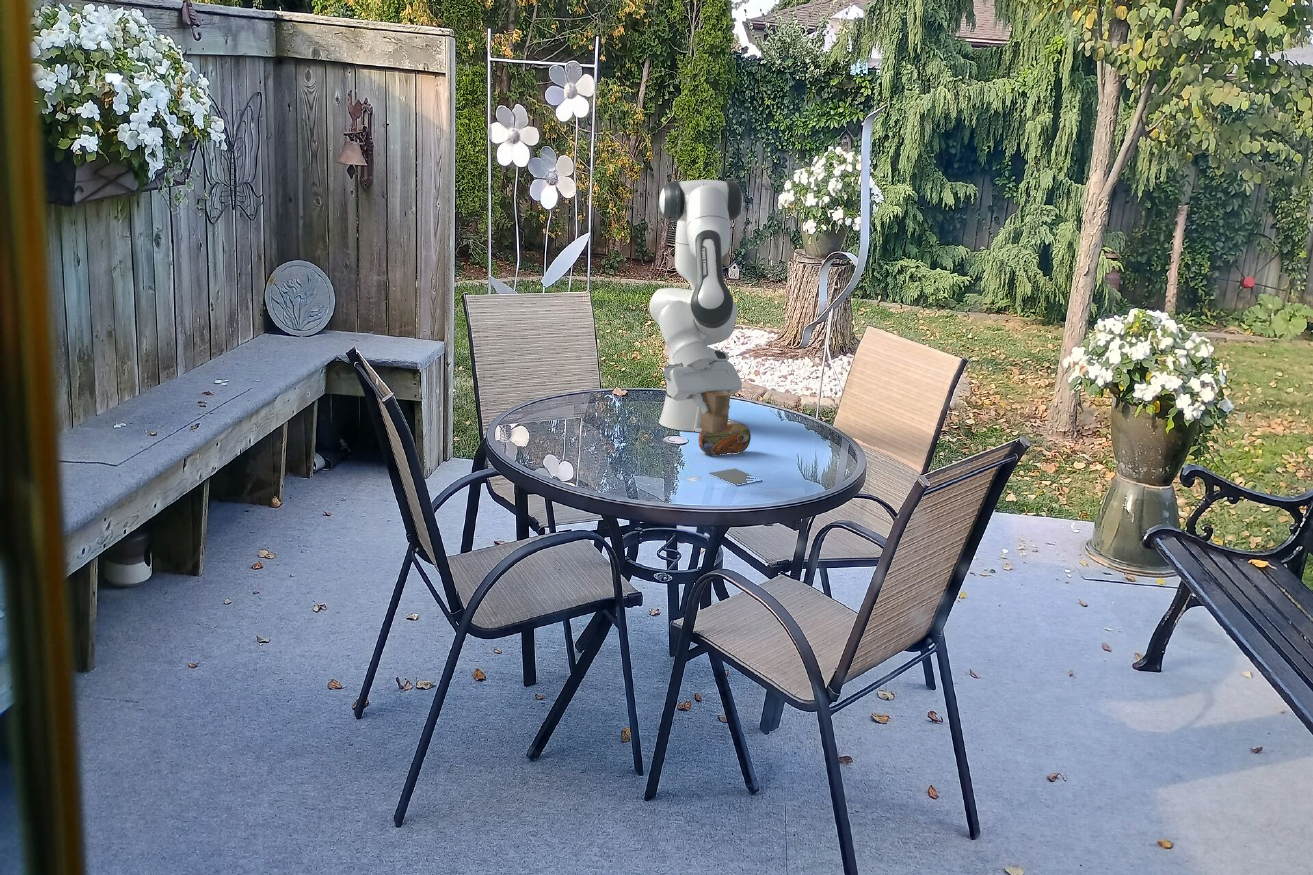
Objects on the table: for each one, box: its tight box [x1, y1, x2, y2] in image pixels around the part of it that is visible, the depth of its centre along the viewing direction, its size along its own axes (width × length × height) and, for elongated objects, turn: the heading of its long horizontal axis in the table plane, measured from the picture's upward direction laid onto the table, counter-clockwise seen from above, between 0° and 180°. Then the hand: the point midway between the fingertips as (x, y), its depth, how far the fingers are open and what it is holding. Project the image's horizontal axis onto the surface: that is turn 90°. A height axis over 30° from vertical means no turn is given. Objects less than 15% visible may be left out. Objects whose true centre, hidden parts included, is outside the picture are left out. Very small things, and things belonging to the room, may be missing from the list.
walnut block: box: [700, 391, 731, 433], centre depth 264 cm, size 5×5×9 cm
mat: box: [708, 468, 756, 485], centre depth 274 cm, size 9×10×1 cm
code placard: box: [686, 476, 701, 482], centre depth 269 cm, size 7×9×1 cm
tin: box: [698, 421, 752, 456], centre depth 294 cm, size 15×3×8 cm, turn 117°
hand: (716, 411), depth 264 cm, fingers closed on walnut block, 5 cm apart
